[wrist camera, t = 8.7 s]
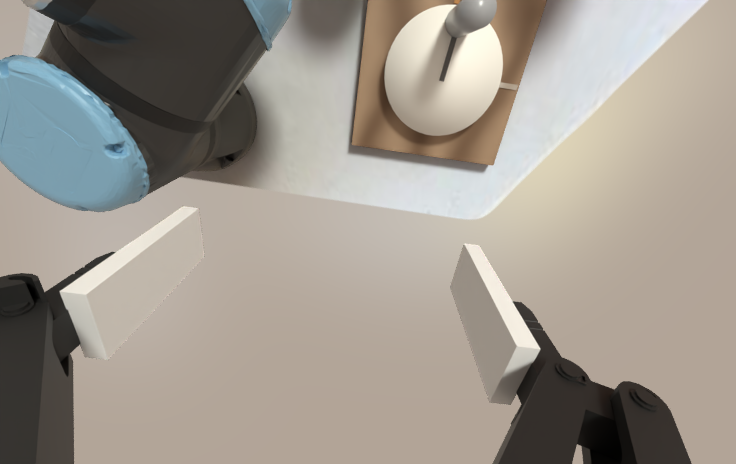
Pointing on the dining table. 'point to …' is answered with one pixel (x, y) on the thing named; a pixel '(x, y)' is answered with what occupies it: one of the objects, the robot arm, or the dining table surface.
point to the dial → (445, 67)
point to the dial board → (473, 144)
